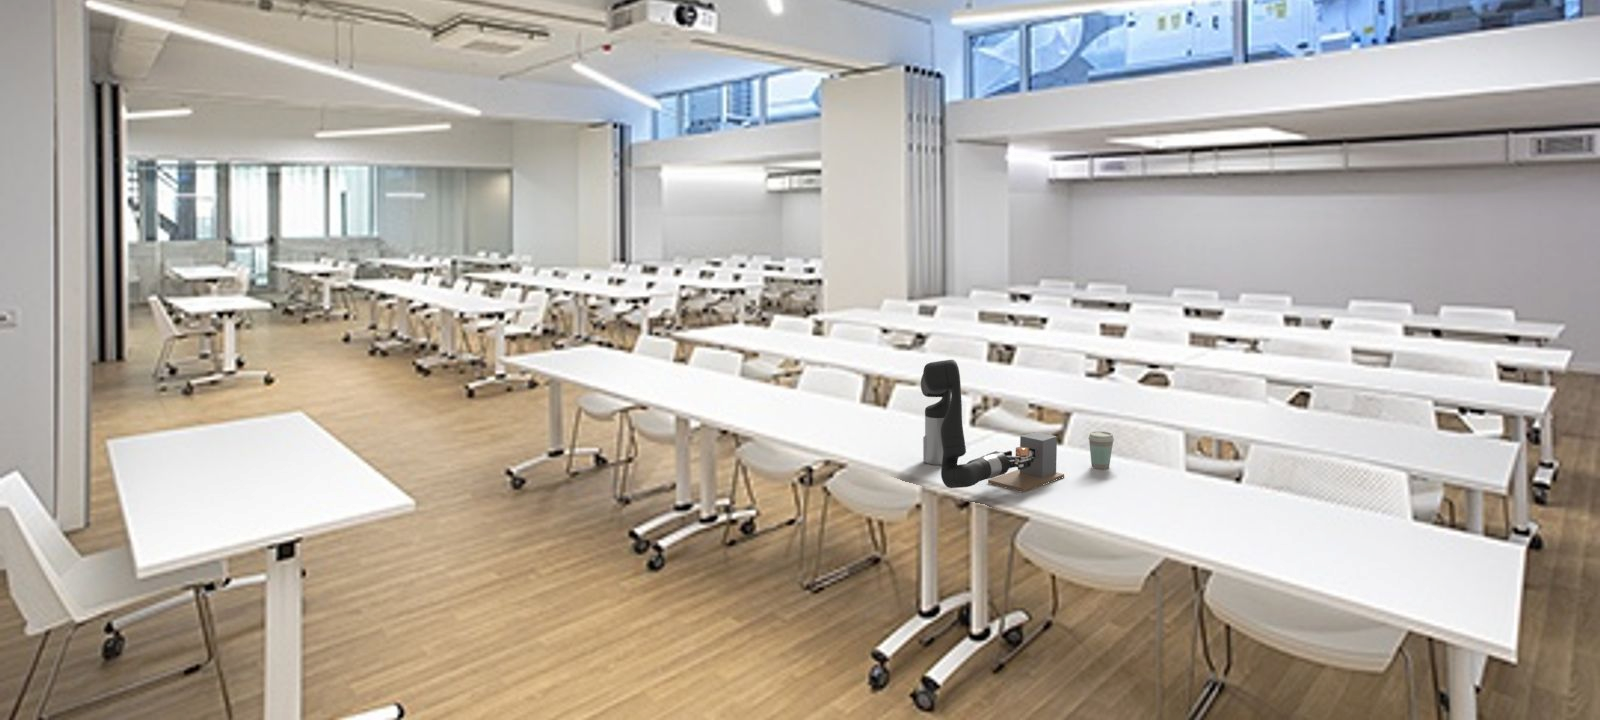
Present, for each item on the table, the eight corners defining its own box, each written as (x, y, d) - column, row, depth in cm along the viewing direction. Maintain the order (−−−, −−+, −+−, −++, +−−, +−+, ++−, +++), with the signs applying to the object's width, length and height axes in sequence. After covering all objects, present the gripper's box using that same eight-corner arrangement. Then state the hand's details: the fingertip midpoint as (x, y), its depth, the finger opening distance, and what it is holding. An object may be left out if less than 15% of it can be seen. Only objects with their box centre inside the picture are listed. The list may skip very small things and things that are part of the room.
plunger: (1023, 465, 298) (1024, 450, 297) (1012, 463, 301) (1012, 448, 300) (1048, 457, 307) (1048, 443, 306) (1037, 455, 310) (1037, 441, 309)
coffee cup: (1114, 471, 312) (1115, 437, 310) (1088, 470, 313) (1089, 436, 311) (1111, 464, 320) (1112, 431, 318) (1086, 463, 322) (1087, 430, 320)
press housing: (1023, 492, 291) (1023, 450, 289) (988, 483, 301) (988, 442, 299) (1064, 477, 306) (1065, 437, 303) (1029, 469, 316) (1029, 430, 314)
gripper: (1010, 458, 284) (1040, 448, 294) (973, 450, 294) (1004, 441, 305) (1009, 481, 285) (1039, 471, 295) (973, 472, 296) (1003, 462, 306)
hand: (1021, 456), depth 300 cm, fingers open, 8 cm apart
